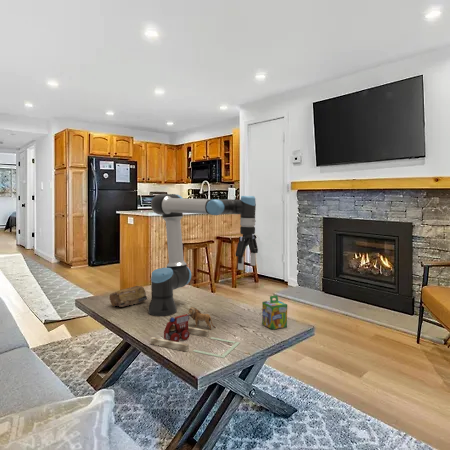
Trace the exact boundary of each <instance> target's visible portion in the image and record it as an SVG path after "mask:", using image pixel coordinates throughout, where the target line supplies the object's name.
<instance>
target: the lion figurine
mask: <svg viewBox="0 0 450 450" xmlns="http://www.w3.org/2000/svg"><path fill="white" fill-rule="evenodd" d="M187 315H189V318H191V320H194V322H195V323H194V328H197V327H198V326H199V325H200V322H205V324H206V326H207V327H208V329H207V330H209V331H210V330H212V327H213V328H214V329H216V328H217V327H216V326H214V324H213V320H212V318H211V315H210V314H209V313H202V312H201V311H200V310H199V309H197V308H196V307H189V308H188V312H187Z"/></svg>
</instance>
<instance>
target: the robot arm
mask: <svg viewBox="0 0 450 450" xmlns="http://www.w3.org/2000/svg"><path fill="white" fill-rule="evenodd" d="M150 203H151V204H150V207H151V210H152V211H153V212H154V213H155V214H157V215H159V216H162V220H164V222H165V229H166V240H167V241H166V242H167V243H166V245H167V255H168V256H167V257H168V263H167V264H166V267H161V268H160V267H159V268H157V269H154V270H152V272H151V275H150V276H151V278H150V281H151V283H150V284H151V285H150V289H151V290H150V291H151V299H150V302H149V306H148V310H147V311H148V314H149V315H151V316H156V317H163V316H164V317H165V316H170V315H174V314H176V312H177V305H176V302H175V299H174V290H176V289H181V288H184V287H185V286H187V285H188V284H189V283H190V282H191V280H192V272H191V269H190V268H189V267H188V265H187V262H186V261H185V259H184V247H183V233H182V222H181V220H182V219H183V217H184V216H183V214H198V215H203V214H204V215H211V216H220V215H221V216H222V215H240V222H239V223H240V227H239V228H240V229H239V230H240V232H239V233H240V234H241V235H242V236H239V238H238V242H237V248H236V252H235V256H236V257H237V270H240V271H244V262H245V260H244V259H245V258H244V254H245V251H246V248H247V246H248V248H249V250H250V257H249V258H250V260H249V261H250V266H255V267H256V263H257V261H256V259H257V258H256V255H257V254H258V252H259V248H258V244H257V239H256V238H257V235H256V227H255V225H256V197H255V196H254V195H241V196H240V199H229V198H225V199H215V198H211V199H209V198H184V197H183V196H181V195H179V194H175V193H161V194H156V195H155V196H154V197H152V199H151V202H150Z"/></svg>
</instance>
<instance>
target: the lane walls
mask: <svg viewBox="0 0 450 450" xmlns="http://www.w3.org/2000/svg"><path fill="white" fill-rule="evenodd" d="M209 331H210V330H209V329H202V328H197V327H191V326H188V332H189V333H190V335H196V336H201V337H206V338H207V337H209V336H210V335H209V334H210V333H209ZM153 344H154V345H155V346H158V345H159V346H158V347H163V348H168V349H172V350H175V351H176V350H177V351H182V352H188V351H189V350H190V349H189V348H190V345H189V343H183V342H179V341H178V342H174V341H171V340H170V339H168V340H166V339H164V338H159V337H154V336H152V337H150V345H153ZM154 345H153V346H154Z"/></svg>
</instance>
